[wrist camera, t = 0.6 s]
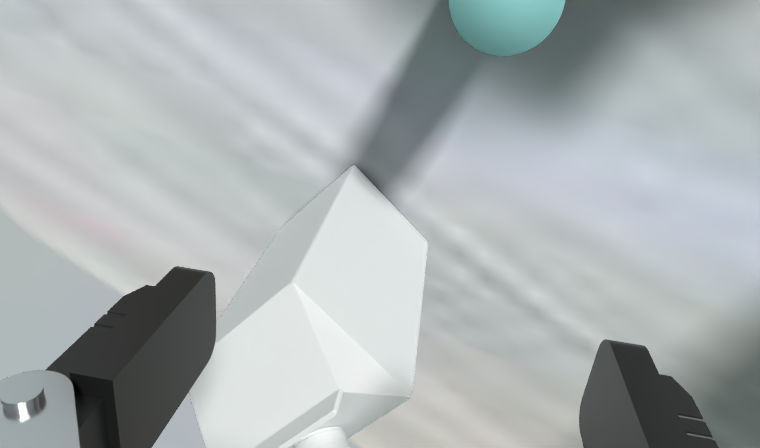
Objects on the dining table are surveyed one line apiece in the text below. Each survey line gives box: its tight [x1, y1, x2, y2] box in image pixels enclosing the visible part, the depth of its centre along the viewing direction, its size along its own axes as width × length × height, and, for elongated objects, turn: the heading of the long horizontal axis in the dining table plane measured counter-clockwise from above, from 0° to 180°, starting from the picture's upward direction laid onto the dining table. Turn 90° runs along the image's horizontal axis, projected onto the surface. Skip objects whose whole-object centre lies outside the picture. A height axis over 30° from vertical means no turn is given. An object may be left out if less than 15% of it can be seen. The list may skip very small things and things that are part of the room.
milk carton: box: [188, 165, 428, 448], centre depth 29 cm, size 7×7×19 cm
